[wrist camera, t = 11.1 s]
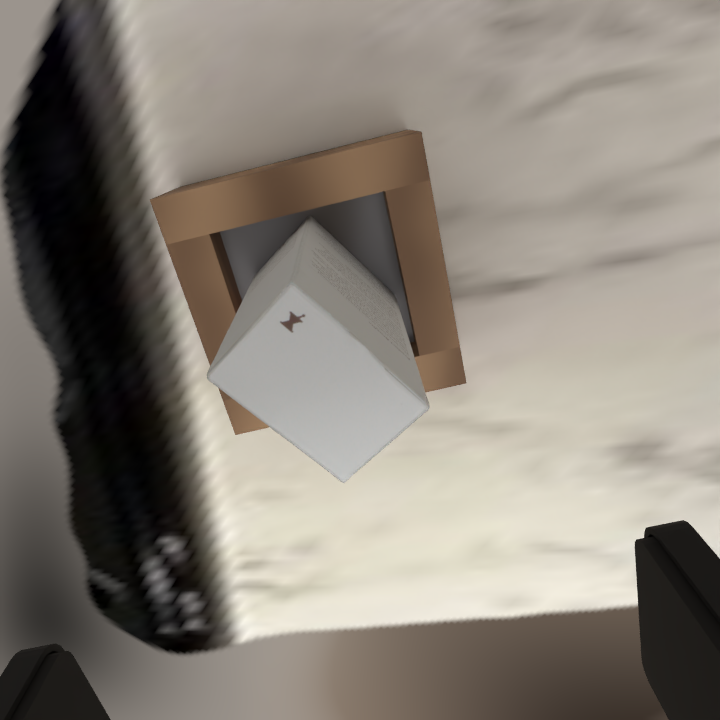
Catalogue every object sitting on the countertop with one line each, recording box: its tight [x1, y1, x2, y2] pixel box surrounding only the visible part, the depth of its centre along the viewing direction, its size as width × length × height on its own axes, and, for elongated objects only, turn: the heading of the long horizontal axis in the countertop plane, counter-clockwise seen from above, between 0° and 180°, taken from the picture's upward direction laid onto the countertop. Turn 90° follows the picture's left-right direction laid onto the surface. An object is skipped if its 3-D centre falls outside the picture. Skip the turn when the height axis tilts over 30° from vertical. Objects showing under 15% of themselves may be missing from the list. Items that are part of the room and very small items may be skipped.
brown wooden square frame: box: [150, 130, 466, 435], centre depth 29 cm, size 12×12×5 cm
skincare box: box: [207, 216, 429, 483], centre depth 23 cm, size 6×4×12 cm
